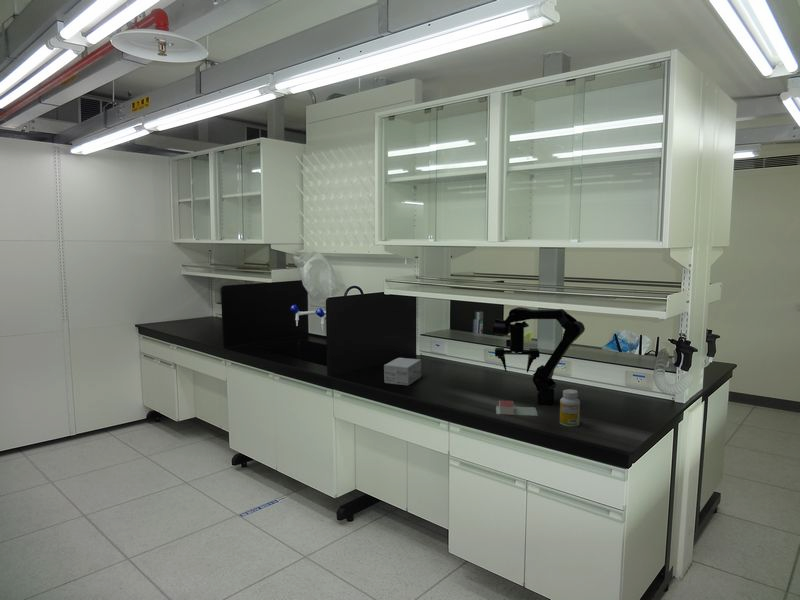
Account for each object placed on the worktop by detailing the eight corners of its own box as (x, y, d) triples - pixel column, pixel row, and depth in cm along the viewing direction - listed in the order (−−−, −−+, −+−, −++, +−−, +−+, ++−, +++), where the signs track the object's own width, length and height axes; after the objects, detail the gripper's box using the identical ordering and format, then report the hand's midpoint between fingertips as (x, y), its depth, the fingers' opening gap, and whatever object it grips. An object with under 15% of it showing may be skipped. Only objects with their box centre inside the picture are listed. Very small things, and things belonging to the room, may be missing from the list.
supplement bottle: (565, 419, 205) (566, 387, 204) (583, 424, 200) (583, 391, 198) (556, 424, 200) (556, 391, 199) (573, 429, 195) (574, 395, 193)
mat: (535, 408, 218) (535, 407, 218) (537, 416, 209) (537, 415, 209) (495, 407, 221) (495, 406, 221) (496, 415, 211) (496, 413, 211)
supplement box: (397, 374, 276) (397, 357, 274) (421, 377, 270) (421, 359, 269) (383, 383, 260) (383, 364, 259) (408, 385, 255) (408, 366, 254)
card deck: (513, 414, 210) (514, 406, 210) (499, 414, 211) (499, 406, 210) (512, 408, 218) (512, 400, 217) (499, 407, 219) (499, 400, 218)
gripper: (537, 333, 235) (536, 368, 237) (494, 333, 238) (494, 366, 240) (539, 338, 224) (539, 374, 226) (495, 337, 227) (494, 373, 229)
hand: (516, 371), depth 231 cm, fingers open, 9 cm apart
